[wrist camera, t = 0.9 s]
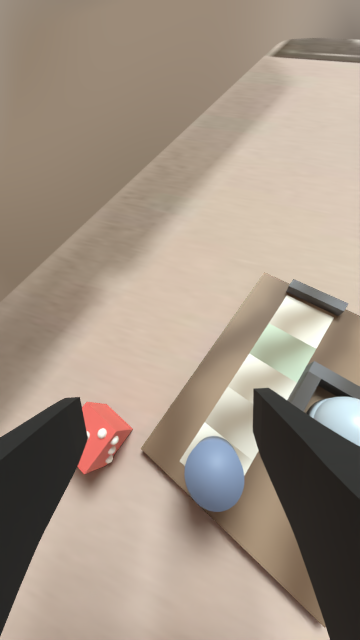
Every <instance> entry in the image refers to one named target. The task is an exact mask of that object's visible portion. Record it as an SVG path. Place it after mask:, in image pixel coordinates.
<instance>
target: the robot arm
mask: <svg viewBox="0 0 360 640" xmlns="http://www.w3.org/2000/svg"><path fill="white" fill-rule="evenodd" d="M253 434H254V437H255V441H256V444H257V447H258V450H259V453H260V456H261V459H262V461H263V464H264V466H265V468H266V470H267V473H268V475H269V477H270V480H271V482H272V484H273V487H274V489H275V491H276V493H277V496H278V498H279V500H280V503H281V505H282V507H283V509H284V512H285V514H286V516H287V518H288V521H289V523H290V526H291V528H292V531H293V533H294V536H295V538H296V541H297V543H298V546H299V549H300V552H301V555H302V558H303V561H304V563H305V566H306V569H307V572H308V575H309V578H310V581H311V583H312V586H313V589H314V592H315V595H316V598H317V601H318V604H319V607H320V610H321V613H322V616H323V619H324V622H325V625H326V628H327V631H328V634H329V637H330V640H360V446H358V445H356V444H354V443H353V442H351V441H349V440H347V439H346V438H344V437H342V436H341V435H339V434H338V433H336V432H334V431H333V430H331V429H329V428H328V427H326V426H324V425H323V424H321V423H320V422H318V421H317V420H315V419H314V418H312V417H311V416H309V415H308V414H306V413H305V412H303V411H302V410H300V409H299V408H297V407H296V406H295V405H293V404H292V403H290V402H289V401H287V400H286V399H285V398H283V397H282V396H280V395H279V394H277V393H276V392H274V391H273V390H271V389H270V388H254V389H253ZM87 440H88V436H87V431H86V426H85V421H84V416H83V411H82V406H81V401H80V397H75V398H64V399H62V400H60V401H59V402H57V403H55V404H53V405H52V406H50V407H48V408H47V409H45V410H44V411H42V412H40V413H39V414H37V415H36V416H34V417H33V418H31V419H29V420H28V421H26V422H25V423H23V424H21V425H20V426H18V427H17V428H15V429H13V430H12V431H10V432H8V433H7V434H5V435H3V436H2V437H0V636H1V633H2V631H3V628H4V626H5V623H6V621H7V618H8V616H9V613H10V611H11V608H12V605H13V603H14V600H15V598H16V595H17V593H18V590H19V588H20V586H21V583H22V581H23V578H24V576H25V574H26V571H27V569H28V567H29V564H30V562H31V559H32V557H33V555H34V552H35V550H36V548H37V546H38V544H39V541H40V539H41V537H42V535H43V533H44V531H45V529H46V527H47V525H48V523H49V521H50V519H51V517H52V515H53V513H54V511H55V509H56V507H57V506H58V504H59V502H60V500H61V498H62V496H63V494H64V492H65V490H66V488H67V486H68V484H69V482H70V480H71V478H72V476H73V474H74V472H75V470H76V468H77V466H78V464H79V462H80V459H81V456H82V454H83V451H84V448H85V445H86V443H87Z"/></svg>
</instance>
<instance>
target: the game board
mask: <svg viewBox="0 0 360 640" xmlns="http://www.w3.org/2000/svg"><path fill="white" fill-rule="evenodd" d="M347 305H348V303H346V302H344V301H341V300H339V299H337V298H335V297H332V296H330V295H328V294H326V293H323V292H321V291H319V290H317V289H315V288H312V287H310V286H308V285H306V284H303V283H301V282H299V281H297V280H294V279H293V280H292V282H291V284H289V283H287V282H284V281H282V280H280V279H278V278H276V277H273V276H271V275H269V274H267V273H265V272H264V274H263V275H262V277H261V278H260V279H259V281H258V282H257V284H256V285H255V287H254V288H253V289H252V291H251V292H250V294H249V295H248V297H247V298H246V299H245V301H244V302H243V304H242V305H241V307H240V308H239V309H238V311H237V312H236V314H235V315H234V317H233V318H232V319H231V321H230V322H229V324H228V325H227V327H226V328H225V329H224V331H223V332H222V334H221V335H220V336H219V338H218V339H217V341H216V342H215V344H214V345H213V346H212V348H211V349H210V351H209V352H208V354H207V355H206V356H205V358H204V359H203V361H202V362H201V364H200V365H199V366H198V368H197V369H196V371H195V372H194V374H193V375H192V376H191V378H190V379H189V381H188V382H187V384H186V385H185V386H184V388H183V389H182V391H181V392H180V394H179V395H178V396H177V398H176V399H175V401H174V402H173V403H172V405H171V406H170V408H169V409H168V411H167V412H166V413H165V415H164V416H163V418H162V419H161V421H160V422H159V423H158V425H157V426H156V428H155V429H154V431H153V432H152V433H151V435H150V436H149V438H148V439H147V441H146V442H145V443H144V445H143V446H142V448H141V449H142V450H143V451H144V452H145V453H146V454H147V455H148V456H149V457H150V458H151V459H152V460H153V461H154V462H155V463H156V464H157V465H158V466H159V467H160V468H161V469H162V470H163V471H164V472H165V473H166V474H167V475H168V476H169V477H171V478H172V479H173V480H174V481H175V482H176V483H177V484H178V485H179V486H180V487H181V488H182V489H183V490H184V491H185V492H186V493H187V494H188V495H189V496H190V497H191V495H190V493H189V491H188V489H187V486H186V482H185V474H184V473H185V464H186V461H187V458H188V456H189V454H190V453H191V451H192V450H193V449H194V448H195V447H196V445H197V444H198V443H199V442H200V441H201V440H202V439H204V438H206V437H209V436H218V437H222V438H224V439H225V440H227V441H228V442H229V443H230V444H231V445H232V446H233V448H234V449H235V451H236V453H237V455H238V457H239V460H240V462H241V464H242V467H243V471H244V488H243V492H242V495H241V497H240V498H239V500H238V502H237V503H236V504H235V505H234V506H233V507H231V508H230V509H228V510H225V511H221V512H213V511H209V510H206V509H204V508H203V507H201V506H200V505H199V504H198V505H199V506H200V507H201V508H202V509H203V510H204V511H205V512H206V513H208V514H209V515H210V516H211V517H212V518H213V519H214V520H215V521H216V522H217V523H218V524H219V525H220V526H221V527H222V528H223V529H224V530H225V531H226V532H227V533H228V534H229V535H230V536H231V537H232V538H233V539H234V540H235V541H236V542H237V543H238V544H239V545H240V546H241V547H242V548H243V549H245V550H246V551H247V552H248V553H249V554H250V555H251V556H252V557H253V558H254V559H255V560H256V561H257V562H258V563H259V564H260V565H261V566H262V567H263V568H264V569H265V570H266V571H267V572H268V573H269V574H270V575H271V576H272V577H273V578H274V579H275V580H276V581H277V582H278V583H279V584H280V585H282V586H283V587H284V588H285V589H286V590H287V591H288V592H289V593H290V594H291V595H292V596H293V597H294V598H295V599H296V600H297V601H298V602H299V603H300V604H301V605H302V606H303V607H304V608H305V609H306V610H307V611H308V612H309V613H310V614H311V615H312V616H313V617H314V618H315V619H316V620H317V621H319V622H320V623H321V624H322V625H323V626H324V627H326V625H325V622H324V619H323V616H322V613H321V610H320V607H319V604H318V601H317V598H316V595H315V592H314V589H313V586H312V583H311V581H310V578H309V575H308V572H307V569H306V566H305V563H304V561H303V558H302V555H301V552H300V549H299V546H298V543H297V541H296V538H295V536H294V533H293V531H292V528H291V526H290V523H289V521H288V518H287V516H286V514H285V512H284V509H283V507H282V505H281V503H280V500H279V498H278V496H277V493H276V491H275V489H274V487H273V484H272V482H271V480H270V477H269V475H268V473H267V470H266V468H265V466H264V464H263V461H262V459H261V456H260V453H259V450H258V447H257V444H256V441H255V437H254V434H253V389H254V388H270V389H271V390H273V391H274V392H276V393H277V394H279V395H280V396H282V397H283V398H285V399H286V400H287V401H289V402H290V403H292V404H293V405H295V406H296V407H297V408H299V409H300V410H302V411H303V412H305V413H307V411H308V409H309V408H310V407H311V405H313V404H314V403H315V402H317V401H319V400H323V399H327V398H333V397H352V398H356V399H360V316H359V315H357V314H354V313H352V312H350V311H348V310H346V307H347ZM191 498H192V497H191ZM192 499H193V498H192ZM193 500H194V499H193Z"/></svg>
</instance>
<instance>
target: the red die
mask: <svg viewBox="0 0 360 640" xmlns="http://www.w3.org/2000/svg"><path fill="white" fill-rule="evenodd" d="M82 411H83V416H84V421H85V426H86V431H87V436H88V440H87V443H86V445H85V448H84V451H83V454H82V456H81V459H80V462H79V464H78V466H77V467H78V468H79V469H80V470H81V471H82V473H83V474H87V473H89V472H92V471H94V470H96V469H99V468H101V467H104V466H106V465H107V464H108V463H110V462H112V460H113V456H114V454H115V453H116V452H117V450H118V449H119V448H120V446H121V445H122V443H123V442H124V441H125V439H126V438H127V437H128V435H129V434H130V432H131V431H132V430H133V429H132V428H131V427H130V426H129V425H128V424H127V423H126V422H125V421H124V420H123V419H122V418H121V417H120V416H118V415H117V414H116V413H115V412H114V411H113V410H112V409H111V408H110V407H109V406H108V405H107V404H100V403H92V402H86V403H85V405H84V406H83V407H82Z"/></svg>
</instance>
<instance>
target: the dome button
mask: <svg viewBox="0 0 360 640" xmlns="http://www.w3.org/2000/svg"><path fill="white" fill-rule="evenodd" d="M306 414H308V415H309V416H311V417H312V418H314V419H315V420H317V421H318V422H320V423H321V424H323V425H324V426H326V427H328V428H329V429H331V430H333V431H334V432H336V433H338V434H339V435H341V436H342V437H344V438H346V439H347V440H349V441H351V442H353V443H354V444H356V445H358V446H360V399H356V398H352V397H333V398H327V399H323V400H319V401H317V402H315V403H314V404H313V405H311V407H310V408H309V409H308V411H307V413H306Z"/></svg>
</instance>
